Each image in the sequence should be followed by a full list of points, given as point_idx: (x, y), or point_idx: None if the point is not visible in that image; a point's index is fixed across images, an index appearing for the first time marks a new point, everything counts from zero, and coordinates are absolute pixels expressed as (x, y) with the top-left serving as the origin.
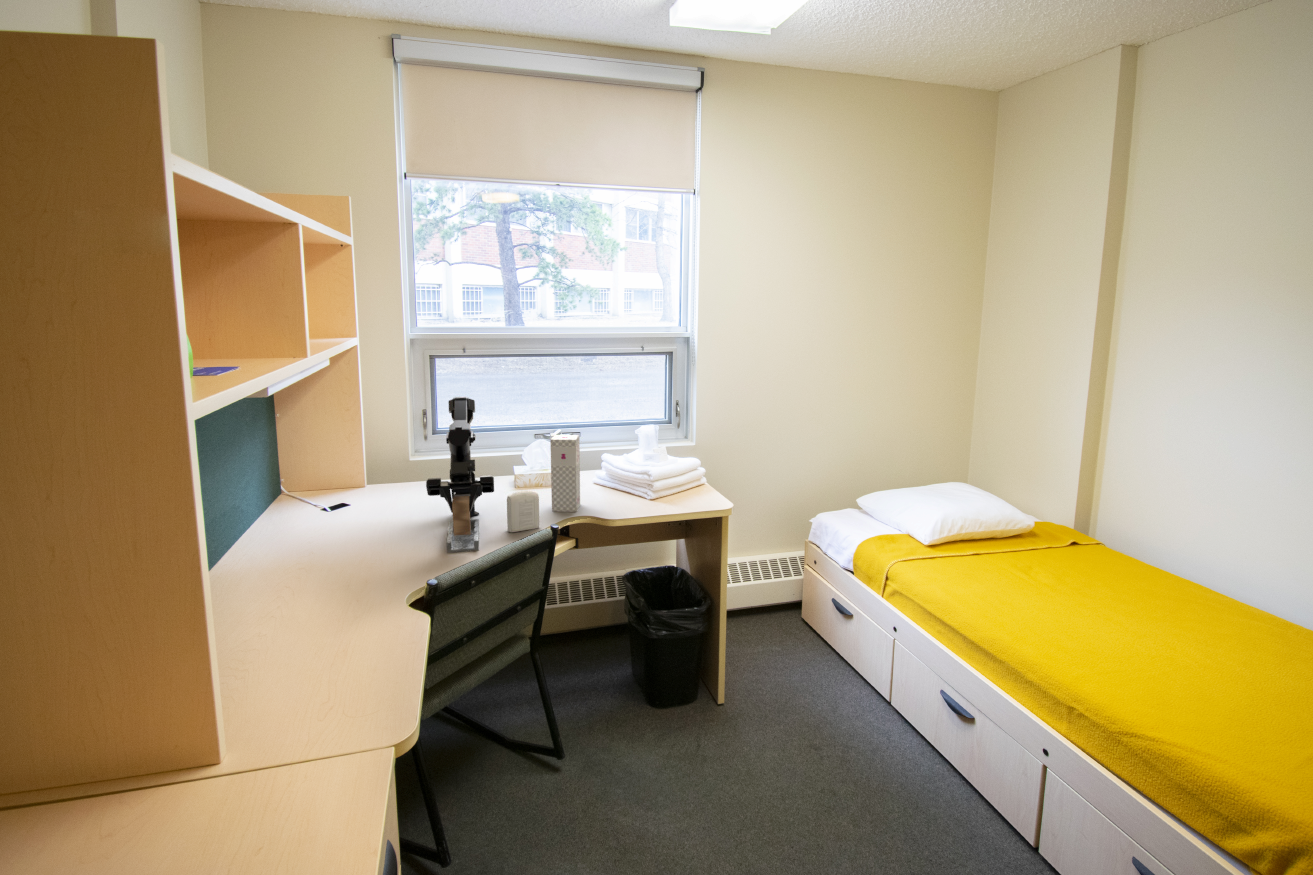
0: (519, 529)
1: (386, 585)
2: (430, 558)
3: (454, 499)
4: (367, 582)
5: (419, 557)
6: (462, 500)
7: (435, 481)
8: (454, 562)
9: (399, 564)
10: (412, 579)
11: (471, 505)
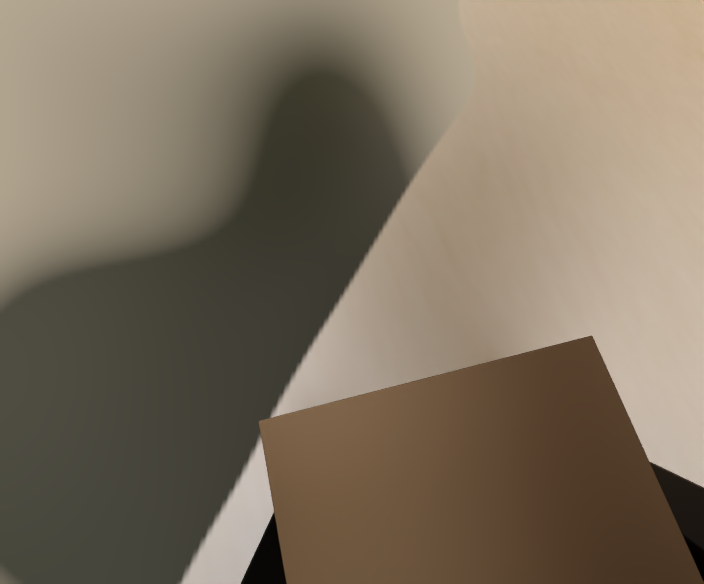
0: None
1: (594, 33)
2: (555, 337)
3: (622, 513)
4: (697, 53)
5: (632, 350)
6: (402, 432)
7: None
8: (387, 283)
9: (686, 244)
10: (513, 87)
11: (261, 544)
